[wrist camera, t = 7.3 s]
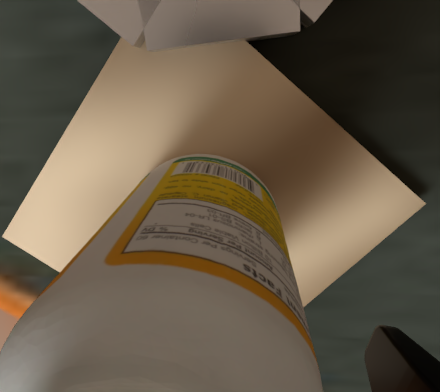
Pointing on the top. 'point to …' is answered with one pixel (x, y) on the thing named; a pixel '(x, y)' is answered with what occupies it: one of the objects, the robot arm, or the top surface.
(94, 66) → the top surface
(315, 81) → the top surface
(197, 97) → the coaster
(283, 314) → the supplement bottle
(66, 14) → the top surface
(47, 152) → the top surface
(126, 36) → the grey octagonal ring
